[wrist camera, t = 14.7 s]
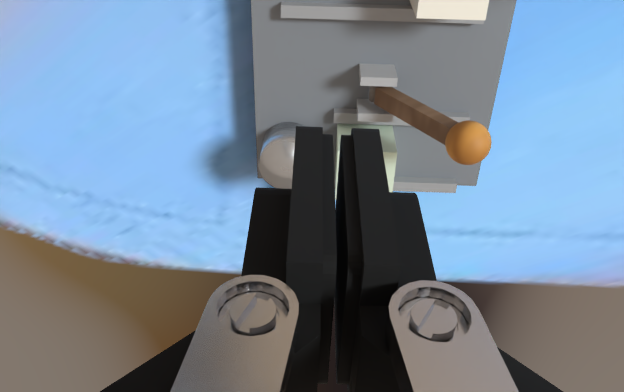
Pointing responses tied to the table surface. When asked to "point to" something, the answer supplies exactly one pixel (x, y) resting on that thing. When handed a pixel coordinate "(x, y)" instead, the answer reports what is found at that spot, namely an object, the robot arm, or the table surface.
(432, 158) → the panel
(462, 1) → the block
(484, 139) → the lever
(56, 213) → the table surface
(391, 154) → the slider green
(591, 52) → the table surface
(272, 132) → the button
